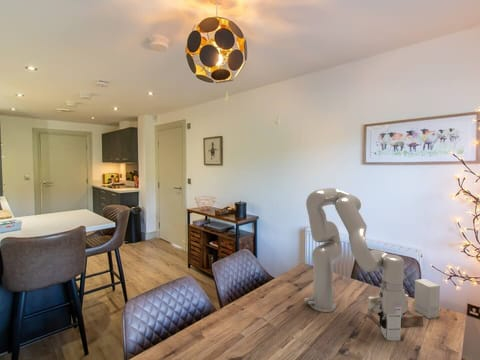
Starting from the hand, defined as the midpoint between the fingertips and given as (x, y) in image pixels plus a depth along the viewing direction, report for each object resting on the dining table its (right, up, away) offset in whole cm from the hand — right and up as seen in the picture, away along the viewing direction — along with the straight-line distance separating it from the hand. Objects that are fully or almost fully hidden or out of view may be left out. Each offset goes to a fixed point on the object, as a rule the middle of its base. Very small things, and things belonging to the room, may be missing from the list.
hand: (390, 325), depth 111 cm
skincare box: (+27, -4, +17) cm, 32 cm away
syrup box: (0, -5, 0) cm, 5 cm away
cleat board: (+9, -4, +12) cm, 15 cm away
